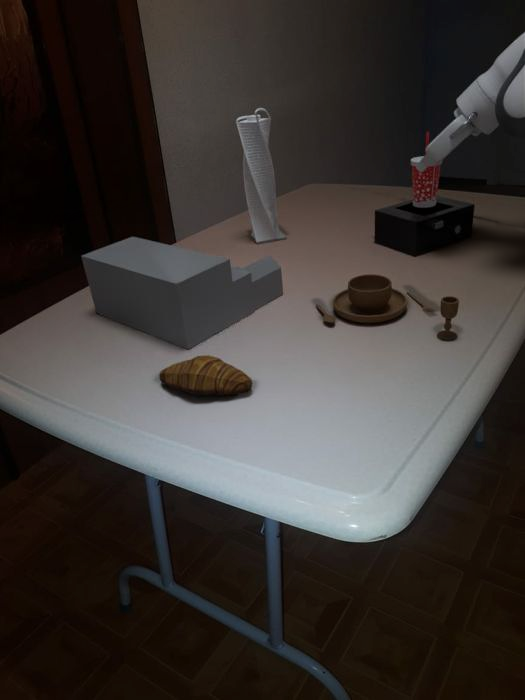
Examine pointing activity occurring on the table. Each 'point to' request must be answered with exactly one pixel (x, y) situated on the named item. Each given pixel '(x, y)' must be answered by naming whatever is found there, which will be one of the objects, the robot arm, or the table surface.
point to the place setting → (383, 303)
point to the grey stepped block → (177, 289)
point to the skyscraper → (259, 178)
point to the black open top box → (423, 225)
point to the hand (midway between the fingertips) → (423, 164)
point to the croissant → (206, 377)
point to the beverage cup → (425, 182)
